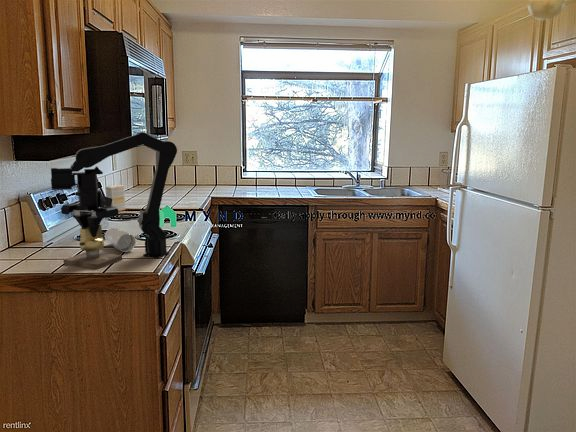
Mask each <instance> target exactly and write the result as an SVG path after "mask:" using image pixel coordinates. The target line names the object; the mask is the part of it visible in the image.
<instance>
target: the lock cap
mask: <svg viewBox="0 0 576 432" xmlns="http://www.w3.org/2000/svg"><path fill="white" fill-rule="evenodd" d="M79 234H80V235H79V236H80V239H79V246H80V250H81V251H85V252H86V251H93V250H99V251H100V250H103V249H104V248H105V243H104V242H105V241H104V240H105V239H104V237H103V230H102V224H100V225H99V228H98V232H97V235H96V237H93V236H92V234H91V230H90V227H85V228H82V227H81V228H80V229H79Z"/></svg>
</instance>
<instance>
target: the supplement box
mask: <svg viewBox="0 0 576 432" xmlns="http://www.w3.org/2000/svg"><path fill="white" fill-rule="evenodd" d="M105 194H106V196H105V197H108V198H112V199H113V201H112V206H113V207H117V208H118V212H121V211H126V210H127V209H126V196H125V185H123V184H122V185H119V184H117V185H109V186H105Z"/></svg>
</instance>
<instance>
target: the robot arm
mask: <svg viewBox="0 0 576 432" xmlns="http://www.w3.org/2000/svg"><path fill="white" fill-rule="evenodd" d="M140 146H145V147H147V148H148V149H150V150H153V151H154V152H155V170H154V172H153V173H154V174H153V178H152V182H151V187H150V192H149V196H148V199H147V204H146V206H145V209H144V210H142V209H139V217H138V219H137V223H138V226H139V229H140V230H141V231H142V232H143V233H144V235H146V236H145V241H144V250H145V251H144V252H145V253H143V256H144V257H149V258H157V259H158V258H161V257H163V256H166V255H168V254H170V251H167V233H166V232H165V230H164V229H162V227H160V224H161V223H160V221H161V216H160V208H161V205H162V200H163V199H162V198H163V195H164V190H165V186H166V183H167V178H168V177H167V176H168V172H169V170H170V167H171V166H172V164H173V163H174V161H175V158H176V156H177V153H178V148H177V146H176V144H175V143H173V141H168V140H161V139H158V138H156V137H154V136H152V135H150V134H148V133H146V132H145V131H144V132H143V131H140V132H137V133H136V134H132V135H130V136H127V137H124V138H121V139H119V140H115V141H113V142H110V143H106V144H104V145H99V146H98V145H97V146H92V147H91V146H90V147H86V148H84V147H83V148H81V149H79V150H78V151H76V153H75V161H74V162H73V163H72V164H71V165H70V167H66V168H61V167H60V168H58V167H51V168H50V174H51V177H50V185H51V191H66V190H68V191H69V190H73V188H74V187H76V179H77V191H76V192H75V197H78V203H76V202H72V203H68V204H67V203H66V204H63V205H62V206H61V207H60V211H61V212H60V213H61V215H70V213H74V215H72V218H74V219H75V220H76V222H77V223H78V224H79V226H80V227H81V228H85V227H90V230H91V234H92V236H93V237H96V235H97V232H98V228H99V225H101V222H102V220H104V219H108V218H112V217H117V216H119V211H118V208H117V207H113V206H112V201H113V199H112V198H108V197H106V196H104V195H102V192H101V190H98V189H99V188H98V177H97V175H103V174H104V172H103V170H101V169H99V167H98V166H95V165H97V164H99V163H100V162H102V161H104V160H105V159H107V158H108V157H112V156H115V155H117V154H120V153H123V152H126V151H129V150H131V149H134V148H137V147H140ZM93 166H95V167H94V168H91V167H93ZM83 169H84V171H81V170H83ZM80 171H81V172H80Z"/></svg>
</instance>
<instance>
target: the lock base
mask: <svg viewBox="0 0 576 432" xmlns="http://www.w3.org/2000/svg"><path fill="white" fill-rule="evenodd" d="M62 260H63V265H67V266H68V265H69V266H76V267H81V268H82V267H83V268H88V269H94V270H99V269H101V268H104V267H107V266H109V265H112V264H115V263H118V262H120V261H122V260H123V255H122V254H121V255H120V254H114V253H113V254H112V253H108V252H107V253H106V252H100V249H99V250H93V251H85V252H82V253H79V254H76V255H73V256H70V257H66V258H64V259H62Z"/></svg>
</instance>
